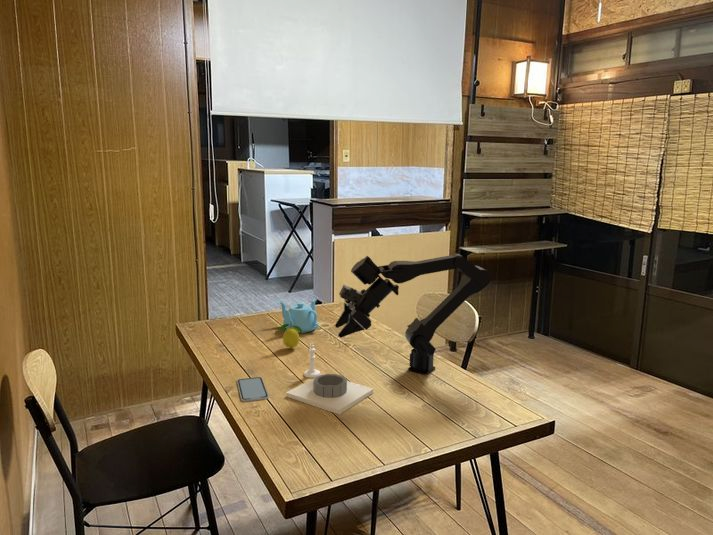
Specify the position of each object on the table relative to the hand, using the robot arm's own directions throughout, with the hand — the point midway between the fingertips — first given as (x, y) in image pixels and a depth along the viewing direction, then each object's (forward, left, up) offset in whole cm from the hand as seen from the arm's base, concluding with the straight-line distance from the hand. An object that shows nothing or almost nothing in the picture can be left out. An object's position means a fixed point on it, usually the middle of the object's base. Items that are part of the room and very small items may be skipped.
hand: (337, 331), depth 159 cm
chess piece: (+6, +5, -13) cm, 15 cm away
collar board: (-7, +13, -13) cm, 20 cm away
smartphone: (+13, +23, -14) cm, 30 cm away
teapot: (+39, -27, -14) cm, 49 cm away
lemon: (+26, -8, -13) cm, 30 cm away
